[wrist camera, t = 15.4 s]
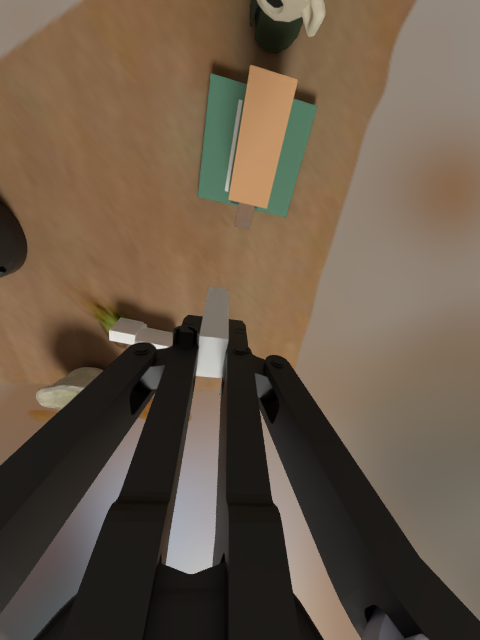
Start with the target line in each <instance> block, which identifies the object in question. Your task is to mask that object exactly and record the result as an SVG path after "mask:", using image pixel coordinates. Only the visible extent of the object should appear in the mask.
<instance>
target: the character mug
mask: <svg viewBox="0 0 480 640" xmlns="http://www.w3.org/2000/svg"><path fill="white" fill-rule="evenodd" d="M325 13H326V12H325V4H324V0H251V4H250V25H251V27H252V23H253V19H254V16H255V22H256V27H257V29H256V34H255V40H256V42H257V43H258V44H259V45H260V46H261V47H262V48H263V49H264V50H265V51H268V52H272V53H278V52H280V51H282V50H285V49H287V48H288V47H289V46H290V45H291V44H292V42H293V41H294V40H295V39H296V38H297V36H298V34H299V31H300V28H301V25H302V23H303V22H304V26H305V29H306V32H307V35H308V37H313V36H314V35H315V34H316V32H317V30H318V29H319V27H320V25H321V23H322V21H323V19H324V17H325Z"/></svg>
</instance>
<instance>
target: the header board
mask: <svg viewBox="0 0 480 640" xmlns="http://www.w3.org/2000/svg"><path fill="white" fill-rule="evenodd" d="M246 88H247V84H244V83H241V82H238V81H235V80H231V79H228V78H225V77H222V76H218V75H215V74H212V73H211V76H210V86H209V95H208V105H207V114H206V124H205V133H204V143H203V152H202V162H201V171H200V181H199V190H198V197H201V198H205V199H209V200H214V201H218V202H222V203H227V204H231V205H235V206H239V202H236V201H232V200H228V199H229V193H230V187H231V180H232V174H233V168H234V162H235V156H236V150H237V144H238V138H239V131H240V125H241V119H242V113H243V107H244V101H245V95H246ZM316 109H317V106H316V105H313V104H309V103H306V102H303V101H300V100H296V99H293V103H292V107H291V111H290V115H289V119H288V124H287V128H286V132H285V136H284V140H283V144H282V148H281V153H280V157H279V161H278V165H277V169H276V173H275V177H274V182H273V186H272V190H271V194H270V198H269V202H268V206H267V209H266V208H262V207H257V206H255V208H254V210H256V211H261V212H265V213H269V214H274V215H278V216H282V217H286V215H287V211H288V208H289V204H290V201H291V197H292V194H293V190H294V187H295V183H296V180H297V176H298V173H299V169H300V166H301V162H302V158H303V155H304V151H305V148H306V144H307V141H308V137H309V134H310V130H311V127H312V123H313V120H314V116H315V113H316Z"/></svg>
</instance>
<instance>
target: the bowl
mask: <svg viewBox="0 0 480 640" xmlns="http://www.w3.org/2000/svg"><path fill="white" fill-rule="evenodd" d="M102 371H104V370H102V369H98V368H93V367H82V368H78V369H75V370H73V371H72V372H70V373H69V374H68V375H66V376H65V377H64V378H62V379H60V380H59V381H58V382H56V383H55V384H53V385H51V386H48V387H44V388H41V389H39V390H38V392H37V394H36V399H37V400H38V402H39V403H40V404H41V405H42V406H45V407H50V408H55V409H59V410H61V409H62V408H63V407H64V406H66V405H67V404H68V403H69V402H70V401H71V400H72V399H73V398H74V397H75V396H76V395H77V394H79V393H80V392H81V391H82V390H83V389H84V388H85V387H86V386H87V385H88V384H89V383H91V382H92V381H93V380H94V379H95V378H96V377H97V376H98V375H99V374H100V373H101V372H102Z"/></svg>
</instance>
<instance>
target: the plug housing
mask: <svg viewBox="0 0 480 640" xmlns="http://www.w3.org/2000/svg"><path fill="white" fill-rule="evenodd" d="M297 82H298V80H297V79H294V78H291V77H288V76H285V75H282V74H278V73H275V72H272V71H269V70H266V69H263V68H259V67H256V66H253V65H250V70H249V76H248V82H247V88H246V95H245V101H244V107H243V113H242V119H241V125H240V131H239V138H238V144H237V150H236V156H235V162H234V168H233V174H232V180H231V187H230V193H229V199H228V200H232V201H236V202H239V206H238V212H237V217H236V223H235V227H237V228H242V229H246V230H250V226H251V222H252V217H253V212H254V208H255V206H257V207H262V208H266V209H267V206H268V202H269V198H270V194H271V190H272V186H273V182H274V177H275V173H276V169H277V165H278V161H279V157H280V153H281V148H282V144H283V140H284V136H285V132H286V128H287V124H288V119H289V115H290V111H291V107H292V103H293V99H294V95H295V90H296V86H297Z"/></svg>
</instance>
